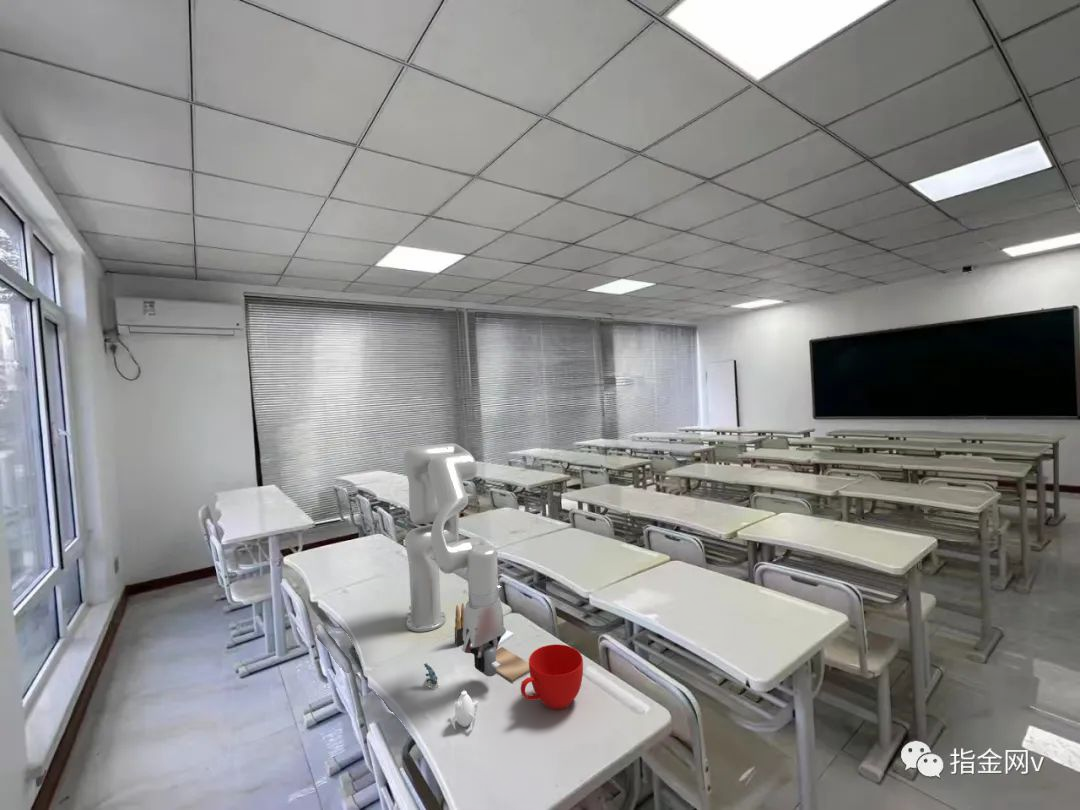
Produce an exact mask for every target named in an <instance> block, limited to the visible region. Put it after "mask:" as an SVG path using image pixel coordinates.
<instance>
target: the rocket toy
mask: <svg viewBox="0 0 1080 810" xmlns="http://www.w3.org/2000/svg"><path fill="white" fill-rule="evenodd" d="M457 699H458V700H456V702H454V708H455V710H454V716H452V717H451V718H450V722H451V724H452V726H453V729H454V730H456V723H458V725H460V726H461V727H463V728H466V727H468V726H469V725H470V724H472V725H471V729H473V728H474V725H475V721H476V714H477V711H478V707H479V701H478V700H477V701H475V702H473V699H472V698H471V697H470V695H469V694H468V692H467V690H463V691H461V692H460V695H459V697H458V698H457ZM455 721H456V723H455Z"/></svg>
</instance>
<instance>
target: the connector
mask: <svg viewBox="0 0 1080 810" xmlns="http://www.w3.org/2000/svg"><path fill="white" fill-rule="evenodd" d="M496 650H497V649H496V648H495V647H494V646H492V645H491V644H489V643H485V644H483V647H482V656H483V657H484V672H483V673H482V674H483V675H485V676H486V677H493V676H495V675H497V672H496V669H498V668H499V667H500V664H499V663H497V662H496Z"/></svg>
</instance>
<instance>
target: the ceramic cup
mask: <svg viewBox="0 0 1080 810" xmlns="http://www.w3.org/2000/svg"><path fill="white" fill-rule="evenodd" d="M583 659H584V658H583V656H582V654H581V652H580V651H579V650H577V649H576V648H574V647H572V646H569V645H567V644H566V645H565V644H549V645H548V644H547V645H543V646H541V647H539V648H537V649H535V650H534V651H533V652H531V654H530V656H529V658H528V663H529V670H530V672H529V677H526V678H525V679H523V681H522V682H521V684H520V693H521V696H523V697H524V698H525V699H526V700H528V701H529V700H530V701H535V700H540V701H541V702H542V703H543V704H544V705H545V707H547V708H549V709H551V710H556V711H557V710H564V709H566V708H567V707H569V706H570V705H571V704H572V702H573V701H574V700H575V699H576V697H577V696H578V693H579V691H580V689H581V686H582V680H583V675H584V673H583V671H584V660H583ZM530 683H531V684H532V687H533V691H534V693H535V694H532V695H531V694H529V695H528V694H527V693H526V688H527V686H528V684H530Z"/></svg>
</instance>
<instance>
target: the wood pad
mask: <svg viewBox="0 0 1080 810" xmlns="http://www.w3.org/2000/svg"><path fill="white" fill-rule="evenodd" d="M496 662H497V663H499V664H500V667H499V668H498V669H496V674H497V673H498V674H499V675H501V676H502V677H503V678H505V679H506V680H508V681H509V682H511V683H514V682H515V681H517V680H519V679H520V678H522V677H524V676H525V675H527V674H530V670H529V661H527V660H525V659H524V658H522V657H520V656H518V655H517V654H515V653H513V652H512V651H510V650H508V649H506V648H504V647H503V646H500V648H499V647H498V648H497V649H496Z"/></svg>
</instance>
